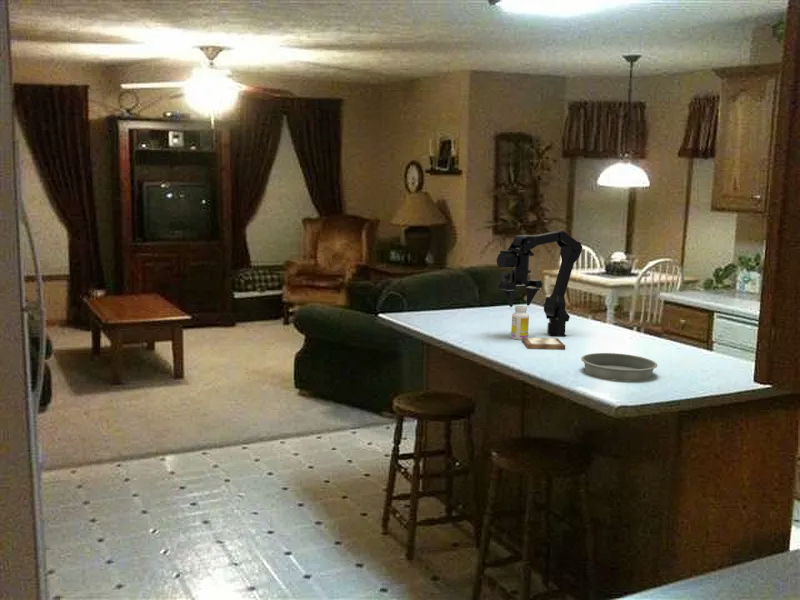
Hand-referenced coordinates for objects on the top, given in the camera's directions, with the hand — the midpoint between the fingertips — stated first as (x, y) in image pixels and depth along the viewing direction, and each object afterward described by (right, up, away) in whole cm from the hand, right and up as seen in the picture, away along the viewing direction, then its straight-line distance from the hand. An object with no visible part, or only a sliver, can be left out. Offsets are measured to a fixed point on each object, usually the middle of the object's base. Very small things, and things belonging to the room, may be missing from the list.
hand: (519, 306), depth 329 cm
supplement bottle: (0, -13, +1) cm, 13 cm away
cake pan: (+25, -22, -54) cm, 63 cm away
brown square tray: (+7, -15, -11) cm, 20 cm away
